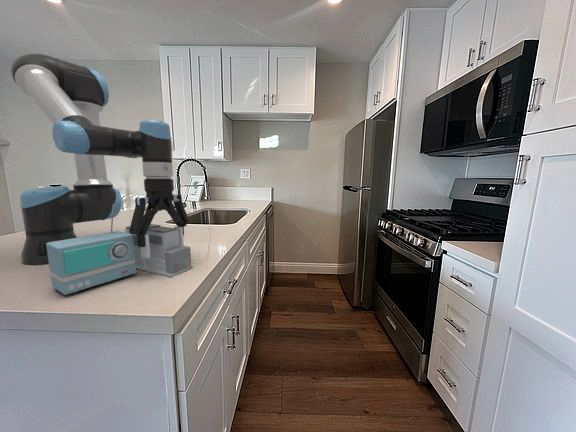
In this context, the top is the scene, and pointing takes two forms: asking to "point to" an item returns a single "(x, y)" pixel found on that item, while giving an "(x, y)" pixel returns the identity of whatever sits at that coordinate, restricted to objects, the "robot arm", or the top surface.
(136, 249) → the block
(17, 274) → the top surface
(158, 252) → the block
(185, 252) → the block
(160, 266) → the rail panel
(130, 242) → the radio
